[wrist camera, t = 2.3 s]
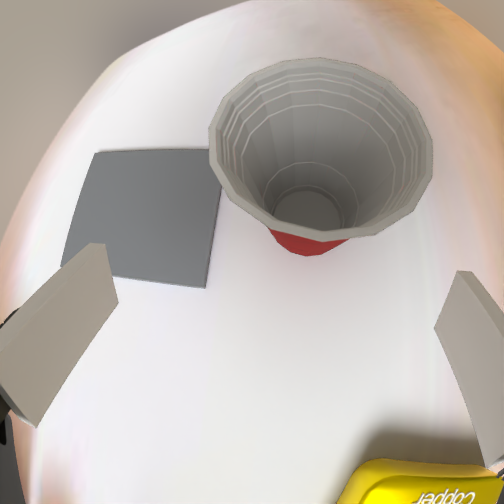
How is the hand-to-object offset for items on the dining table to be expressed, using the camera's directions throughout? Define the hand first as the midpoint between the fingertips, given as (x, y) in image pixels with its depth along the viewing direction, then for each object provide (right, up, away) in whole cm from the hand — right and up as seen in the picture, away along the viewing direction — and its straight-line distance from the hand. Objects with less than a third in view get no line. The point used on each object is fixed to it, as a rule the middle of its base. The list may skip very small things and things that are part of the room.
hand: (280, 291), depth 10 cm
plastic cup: (+3, +4, +14) cm, 15 cm away
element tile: (+12, -23, +5) cm, 27 cm away
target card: (-11, +5, +15) cm, 19 cm away
